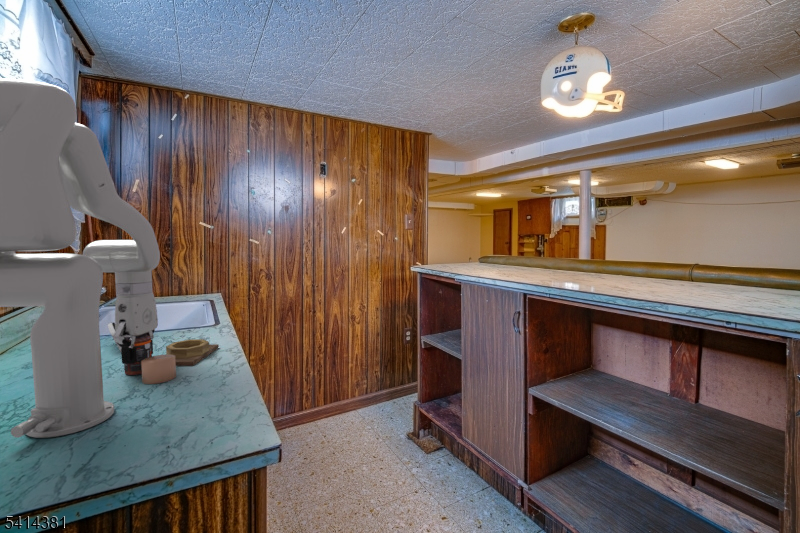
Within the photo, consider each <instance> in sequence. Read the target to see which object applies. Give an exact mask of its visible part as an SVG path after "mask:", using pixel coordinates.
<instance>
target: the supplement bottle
mask: <svg viewBox="0 0 800 533" xmlns="http://www.w3.org/2000/svg"><path fill="white" fill-rule="evenodd" d="M127 335H130V334H129V333H127ZM126 339H127V340H128V341H129V342H130V338H126ZM151 340H152V339H151V337H150V336H149V335H147V334H146V333H145V334H142V335H140V336H136V338H135V343H134V347H136V358H137V362H136V363H134V364H123V370H124V374H125V375H128V376H138V375H139V376H140V375H142V368H141V361H142V360H143V359H145V358H148V357H152V356H153V354H152V350H151Z"/></svg>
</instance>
